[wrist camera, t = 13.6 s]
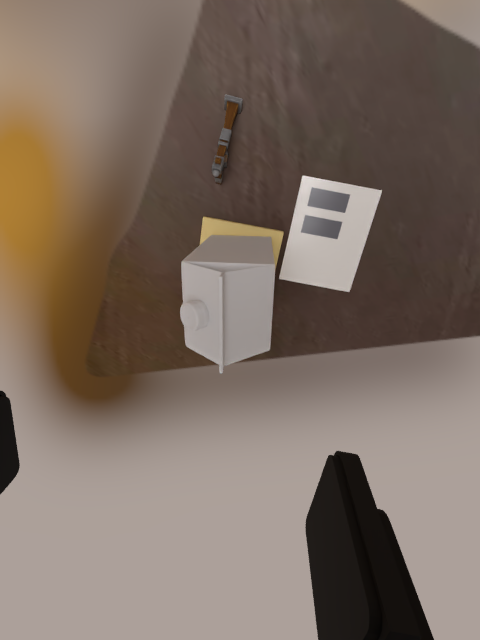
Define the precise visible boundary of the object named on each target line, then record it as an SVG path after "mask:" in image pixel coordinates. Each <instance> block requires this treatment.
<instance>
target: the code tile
mask: <svg viewBox="0 0 480 640" xmlns="http://www.w3.org/2000/svg"><path fill="white" fill-rule="evenodd" d="M381 193H382V191H381V190H376V189H371V188H366V187H360V186H355V185H350V184H345V183H339V182H334V181H329V180H324V179H318V178H313V177H308V176H302V180H301V184H300V189H299V193H298V198H297V202H296V206H295V211H294V215H293V219H292V224H291V228H290V232H289V237H288V241H287V245H286V250H285V254H284V259H283V263H282V267H281V272H280V276H279V279H283V280H288V281H293V282H298V283H304V284H309V285H314V286H320V287H325V288H330V289H335V290H341V291H346V292H350V289H351V286H352V282H353V279H354V276H355V273H356V270H357V267H358V264H359V261H360V258H361V255H362V252H363V248H364V245H365V242H366V239H367V236H368V233H369V230H370V227H371V224H372V221H373V218H374V214H375V211H376V208H377V205H378V202H379V199H380V196H381Z"/></svg>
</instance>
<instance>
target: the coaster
mask: <svg viewBox="0 0 480 640" xmlns="http://www.w3.org/2000/svg"><path fill="white" fill-rule="evenodd" d="M283 234H284V232H283V231H280V230H274V229H269V228H264V227H259V226H253V225H248V224H243V223H238V222H232V221H227V220H222V219H217V218H211V217H206V216H204V217H203V223H202V231H201V239H200V245H201V244H202V243H203V242H204V241H205V240H206V239H207V238H208V237H210V236H211V235H232V236H266V237H271V240H272V247H273V255H274V262H275V270H276V265H277V261H278V256H279V252H280V247H281V243H282V238H283Z"/></svg>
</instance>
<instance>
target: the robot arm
mask: <svg viewBox="0 0 480 640" xmlns="http://www.w3.org/2000/svg"><path fill="white" fill-rule="evenodd" d="M18 470H19V458H18V451H17V445H16V437H15V431H14V425H13V417H12V410H11V404H10V400H9V398H7V397H6V394H5V393H4V392H3V391H0V494H1V493H2V492H3V491H4V490H5V488H6V487H7V486H8V485H9V484H10V483H11V481H12V480H13V479H14V478H15V476H16V475H17V473H18ZM306 537H307V546H308V554H309V563H310V572H311V580H312V589H313V598H314V606H315V615H316V624H317V632H318V640H434V638H433V636H432V633H431V630H430V628H429V625H428V623H427V620H426V617H425V614H424V612H423V609H422V606H421V604H420V601H419V598H418V595H417V593H416V590H415V587H414V585H413V582H412V579H411V577H410V574H409V571H408V569H407V566H406V564H405V561H404V558H403V555H402V552H401V550H400V547H399V544H398V542H397V539H396V536H395V534H394V531H393V528H392V525H391V523H390V521H389V518H388V516H387V514H386V513H385V512H384V511H383V510H380V509H377V507H376V504H375V501H374V498H373V495H372V492H371V489H370V487H369V484H368V481H367V478H366V475H365V472H364V469H363V466H362V463H361V461H360V458H359V456H358V455H356V454H352V453H346V452H341V451H336V453H335V454H334V456H333V455H329V456H328V458H327V461H326V464H325V467H324V469H323V472H322V476H321V478H320V481H319V484H318V486H317V489H316V492H315V495H314V498H313V501H312V504H311V507H310V510H309V512H308V515H307V519H306Z"/></svg>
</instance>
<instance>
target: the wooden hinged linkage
mask: <svg viewBox="0 0 480 640" xmlns="http://www.w3.org/2000/svg"><path fill="white" fill-rule="evenodd" d="M224 99H225V110H226V117H225V124H224V128H222V132H221V136H220V138H219V143H218V152H217V155H215V158H214V162H213V165H212V172H213V176H214V177H215V181H216V183H217V184H221V183H222V177H223V174H222V171H223V167H226V168H227V159H228V152H227V150H228V146H229V141H230V138H231V129H232V126H233V123H234V120H235V117H236V115H237V113H240V114H241V110H242V99H241V98H237V97H234V96H230V95H226V94H225V98H224Z"/></svg>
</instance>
